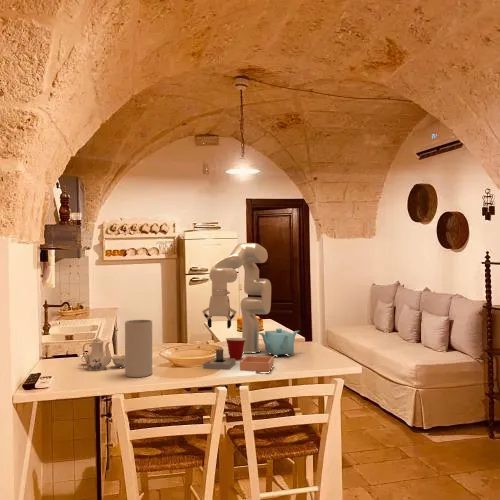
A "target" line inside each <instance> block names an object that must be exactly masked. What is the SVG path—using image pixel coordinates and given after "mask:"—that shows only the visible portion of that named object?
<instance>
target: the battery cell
mask: <svg viewBox="0 0 500 500" xmlns="http://www.w3.org/2000/svg"><path fill="white" fill-rule="evenodd" d="M215 358H216V362H223V358H224V349H223V348H218V349H215Z"/></svg>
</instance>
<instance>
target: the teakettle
mask: <svg viewBox="0 0 500 500" xmlns="http://www.w3.org/2000/svg"><path fill="white" fill-rule="evenodd" d="M299 332H300V330H295V331H293V332H290V331H288V330H285V329H283V328H276V329H275V330H266V331H264V332H259V335H261V337H262V339H263V344H264V351H266V352H268V353H269V352H270V353H271V354H273V355H278V356H279V355H284V354H289V355H291V354H294V353H295V347H294V346H295V344H294V343H295V339H296V335H297V334H298V333H299ZM273 355H272V356H273Z"/></svg>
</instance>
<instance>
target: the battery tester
mask: <svg viewBox="0 0 500 500" xmlns="http://www.w3.org/2000/svg"><path fill="white" fill-rule="evenodd" d="M212 358H213V359H211V360H208V359H207V360H206V361H204V362H203V363H202V365H203V367H202V369H203V370H205V369H207V370H208V369H209V370H228V371H229V370H231V369H232V368H233V367H234V366H235V365H236V360H235V359H230V357H228V358H226V357H225V358H224V357H223V362H216V357H212Z"/></svg>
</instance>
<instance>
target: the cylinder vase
mask: <svg viewBox="0 0 500 500" xmlns="http://www.w3.org/2000/svg"><path fill="white" fill-rule="evenodd" d="M124 348H125V349H124V355H125V365H124V374H125V377H128V378H144V377H149V376H151V375H152V374H153V320H151V319H133V320H132V319H131V320H126V321H124Z"/></svg>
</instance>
